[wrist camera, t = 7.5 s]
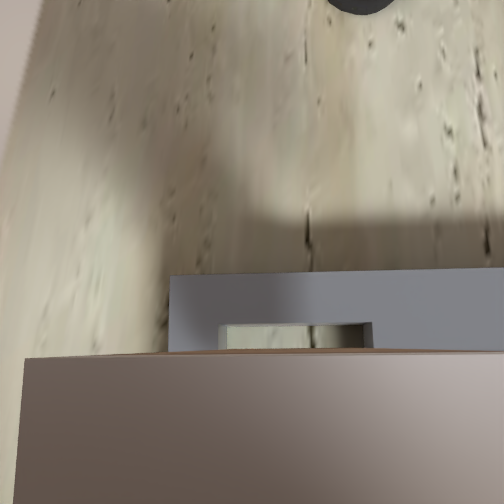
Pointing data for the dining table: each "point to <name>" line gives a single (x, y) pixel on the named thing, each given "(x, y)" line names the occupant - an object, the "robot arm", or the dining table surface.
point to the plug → (263, 427)
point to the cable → (360, 6)
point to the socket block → (345, 306)
